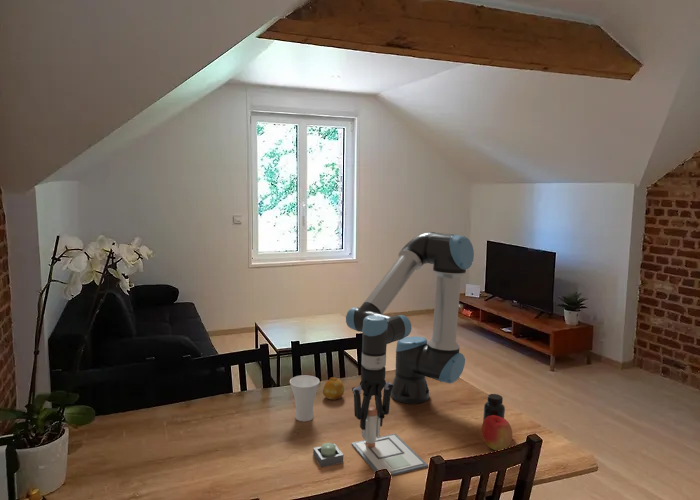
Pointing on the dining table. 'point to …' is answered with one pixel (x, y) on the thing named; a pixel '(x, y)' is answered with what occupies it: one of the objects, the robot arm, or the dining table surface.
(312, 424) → the dining table surface
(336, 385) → the fruit
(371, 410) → the marker
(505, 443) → the apple
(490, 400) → the supplement bottle
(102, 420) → the dining table surface
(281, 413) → the dining table surface
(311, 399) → the cup
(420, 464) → the grey rectangular board
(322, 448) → the button
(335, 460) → the button housing
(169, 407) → the dining table surface
